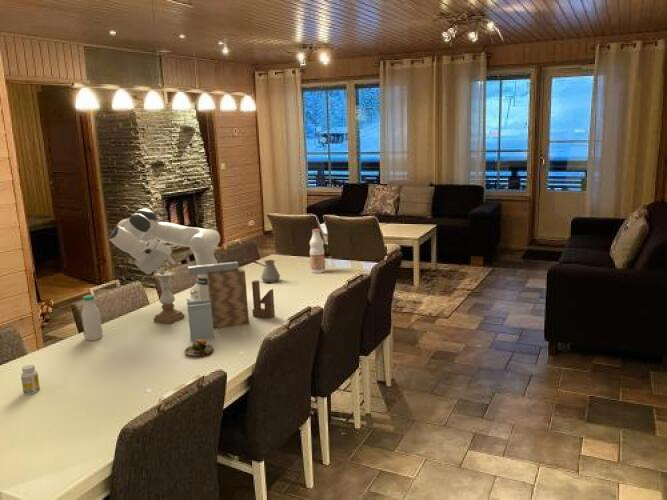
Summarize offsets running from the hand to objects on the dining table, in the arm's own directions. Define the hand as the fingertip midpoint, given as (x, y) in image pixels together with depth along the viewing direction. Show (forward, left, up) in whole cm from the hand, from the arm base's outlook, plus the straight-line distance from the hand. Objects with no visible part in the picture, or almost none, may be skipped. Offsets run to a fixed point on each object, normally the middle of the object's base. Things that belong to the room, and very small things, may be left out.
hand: (169, 268), depth 263 cm
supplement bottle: (+20, -71, -29) cm, 79 cm away
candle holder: (-14, +5, -29) cm, 33 cm away
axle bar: (+13, +16, -3) cm, 20 cm away
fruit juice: (-23, +119, -29) cm, 125 cm away
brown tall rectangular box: (+16, +20, -29) cm, 39 cm away
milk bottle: (-19, -31, -29) cm, 47 cm away
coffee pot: (-34, +82, -29) cm, 94 cm away
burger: (+37, -11, -30) cm, 48 cm away
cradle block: (+21, +1, -29) cm, 36 cm away
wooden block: (+21, +37, -29) cm, 52 cm away
